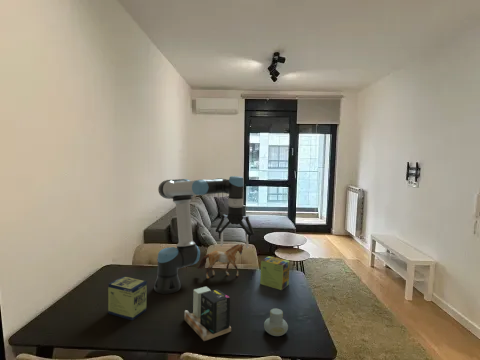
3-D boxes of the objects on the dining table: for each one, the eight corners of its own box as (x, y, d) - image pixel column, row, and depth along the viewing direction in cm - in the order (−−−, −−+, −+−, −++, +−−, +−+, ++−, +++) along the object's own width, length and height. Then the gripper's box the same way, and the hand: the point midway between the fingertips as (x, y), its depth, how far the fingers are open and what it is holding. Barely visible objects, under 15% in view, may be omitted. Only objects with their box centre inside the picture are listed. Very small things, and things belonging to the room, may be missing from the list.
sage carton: (193, 313, 148) (193, 289, 147) (205, 309, 152) (206, 286, 151) (197, 317, 144) (198, 293, 143) (210, 313, 148) (211, 290, 147)
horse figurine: (242, 272, 207) (243, 243, 205) (244, 277, 199) (245, 246, 198) (196, 275, 200) (197, 244, 198) (197, 280, 193) (198, 248, 191)
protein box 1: (133, 320, 144) (133, 289, 142) (107, 313, 149) (107, 283, 148) (147, 310, 153) (147, 280, 152) (122, 304, 159) (122, 275, 158)
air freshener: (285, 327, 142) (286, 307, 142) (289, 337, 134) (290, 316, 133) (262, 327, 142) (263, 306, 141) (264, 337, 134) (265, 316, 133)
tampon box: (230, 328, 137) (231, 297, 135) (212, 335, 131) (213, 302, 130) (216, 317, 145) (217, 288, 144) (199, 323, 139) (200, 293, 138)
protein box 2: (282, 290, 181) (283, 265, 180) (259, 284, 189) (260, 260, 188) (289, 284, 190) (290, 260, 189) (267, 278, 198) (268, 255, 197)
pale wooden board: (184, 319, 146) (184, 310, 146) (209, 311, 154) (210, 303, 154) (203, 341, 130) (203, 331, 129) (231, 331, 138) (231, 321, 137)
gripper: (210, 205, 154) (209, 246, 156) (258, 209, 150) (257, 250, 151) (214, 203, 162) (213, 242, 163) (260, 206, 157) (258, 246, 159)
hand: (234, 246), depth 157 cm, fingers open, 13 cm apart
